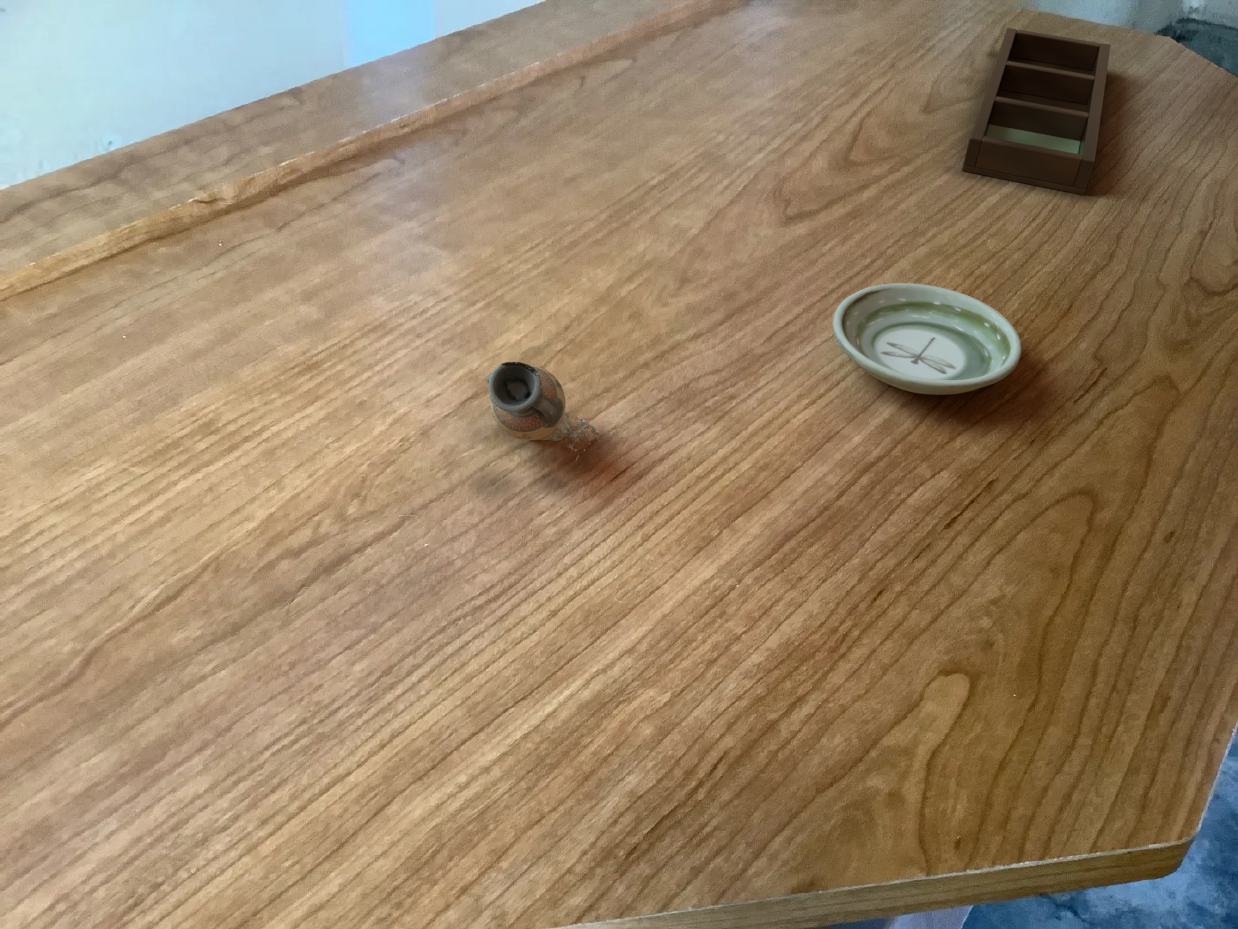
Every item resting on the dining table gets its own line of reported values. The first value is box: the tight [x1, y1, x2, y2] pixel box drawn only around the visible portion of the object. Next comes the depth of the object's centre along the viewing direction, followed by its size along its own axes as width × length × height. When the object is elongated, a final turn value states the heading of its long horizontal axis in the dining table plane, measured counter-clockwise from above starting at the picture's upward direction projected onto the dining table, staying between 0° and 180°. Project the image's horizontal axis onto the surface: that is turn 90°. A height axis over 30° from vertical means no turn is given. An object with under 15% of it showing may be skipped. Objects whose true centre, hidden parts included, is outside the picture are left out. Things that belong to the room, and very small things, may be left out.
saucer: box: [832, 282, 1023, 396], centre depth 63 cm, size 10×10×2 cm
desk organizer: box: [961, 27, 1111, 196], centre depth 88 cm, size 8×23×2 cm, turn 160°
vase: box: [459, 330, 601, 480], centre depth 54 cm, size 5×5×6 cm
